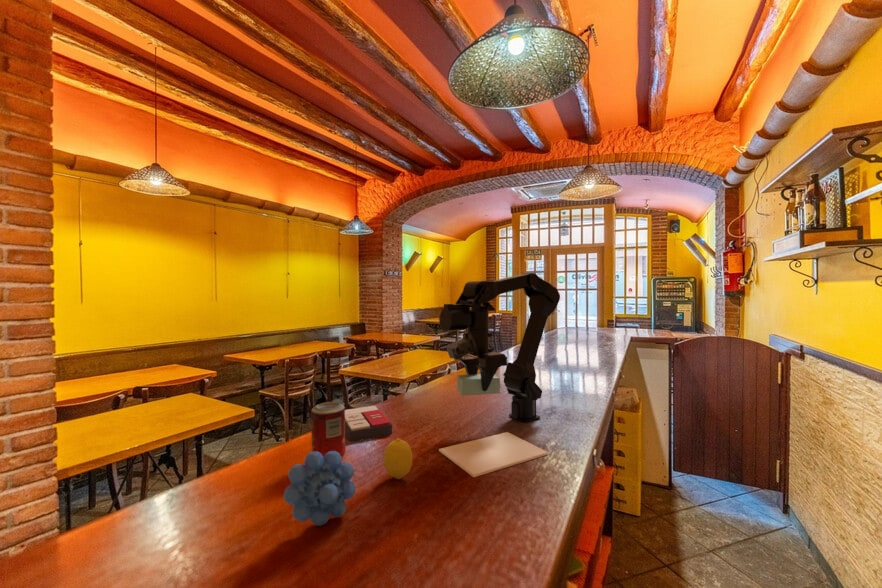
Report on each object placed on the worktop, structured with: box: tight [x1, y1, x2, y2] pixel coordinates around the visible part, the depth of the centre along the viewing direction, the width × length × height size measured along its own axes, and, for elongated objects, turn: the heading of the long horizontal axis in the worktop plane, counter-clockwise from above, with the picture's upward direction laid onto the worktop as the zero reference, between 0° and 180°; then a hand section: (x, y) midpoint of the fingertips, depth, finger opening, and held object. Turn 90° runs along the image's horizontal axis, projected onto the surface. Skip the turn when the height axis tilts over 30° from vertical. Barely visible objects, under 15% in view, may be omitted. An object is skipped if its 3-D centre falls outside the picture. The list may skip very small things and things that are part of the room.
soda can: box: [310, 401, 346, 459], centre depth 83 cm, size 7×7×12 cm
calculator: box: [345, 405, 393, 443], centre depth 102 cm, size 11×4×15 cm
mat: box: [438, 431, 549, 478], centre depth 86 cm, size 20×14×1 cm
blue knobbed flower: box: [283, 451, 357, 527], centre depth 60 cm, size 12×7×12 cm, turn 130°
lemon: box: [383, 437, 414, 480], centre depth 74 cm, size 6×6×8 cm
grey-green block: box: [456, 373, 501, 397], centre depth 100 cm, size 10×6×4 cm, turn 101°
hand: (478, 387), depth 100 cm, fingers closed on grey-green block, 6 cm apart
